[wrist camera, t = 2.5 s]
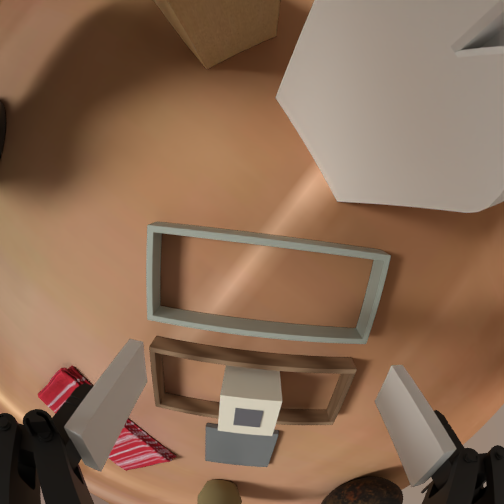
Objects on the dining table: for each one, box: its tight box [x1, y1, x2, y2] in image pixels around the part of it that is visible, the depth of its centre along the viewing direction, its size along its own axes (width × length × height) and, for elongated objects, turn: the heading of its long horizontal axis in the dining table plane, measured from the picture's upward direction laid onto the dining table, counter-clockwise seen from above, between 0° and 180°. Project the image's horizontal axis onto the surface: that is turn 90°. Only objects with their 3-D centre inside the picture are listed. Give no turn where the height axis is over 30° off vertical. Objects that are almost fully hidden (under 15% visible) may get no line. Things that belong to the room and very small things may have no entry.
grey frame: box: [146, 222, 391, 344], centre depth 26 cm, size 23×10×2 cm, turn 83°
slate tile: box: [205, 423, 279, 467], centre depth 33 cm, size 10×10×1 cm
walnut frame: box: [149, 336, 357, 425], centre depth 29 cm, size 23×10×2 cm, turn 83°
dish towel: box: [38, 366, 177, 471], centre depth 34 cm, size 17×24×3 cm
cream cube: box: [218, 365, 282, 436], centre depth 27 cm, size 6×6×6 cm
